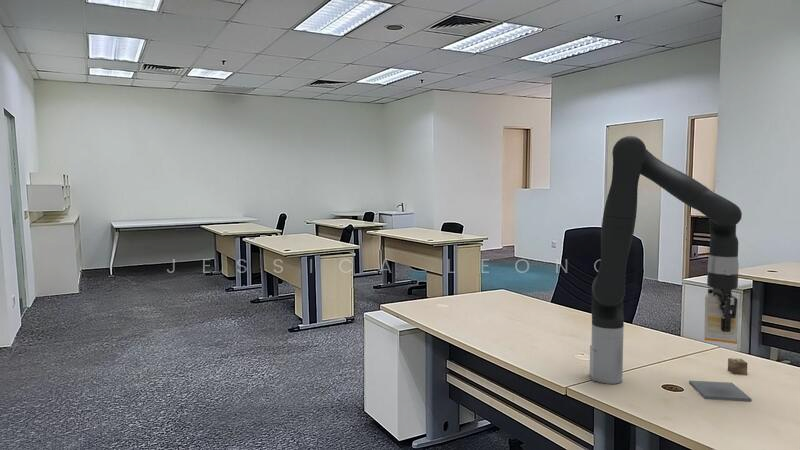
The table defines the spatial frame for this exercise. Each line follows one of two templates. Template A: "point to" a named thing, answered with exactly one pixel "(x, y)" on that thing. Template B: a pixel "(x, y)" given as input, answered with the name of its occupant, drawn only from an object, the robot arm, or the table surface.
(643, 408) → the table surface
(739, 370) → the letter cube
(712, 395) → the rubber mat
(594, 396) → the table surface
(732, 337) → the supplement box
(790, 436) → the table surface
